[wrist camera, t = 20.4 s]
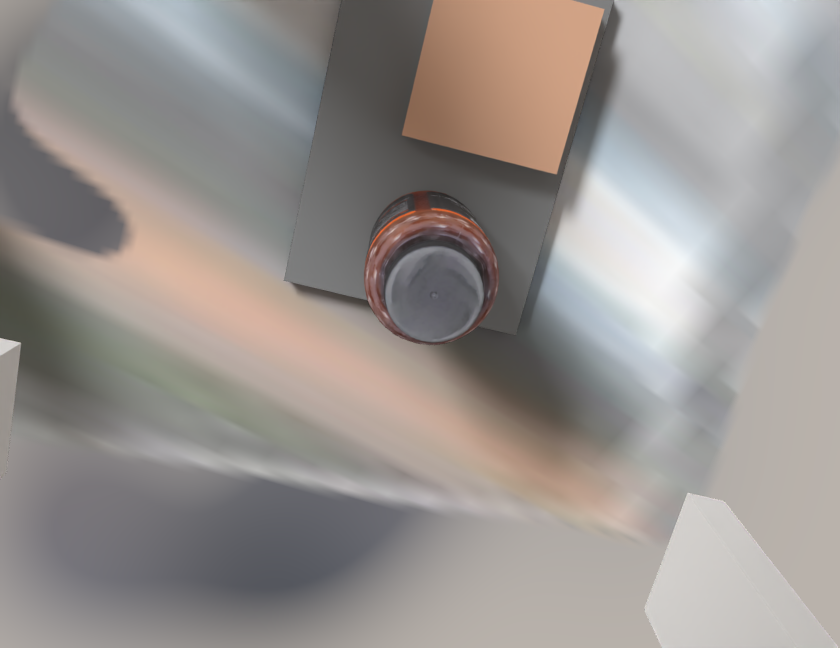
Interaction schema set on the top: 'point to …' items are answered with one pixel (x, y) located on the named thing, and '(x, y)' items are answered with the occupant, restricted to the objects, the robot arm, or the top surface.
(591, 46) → the tile
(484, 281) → the supplement bottle
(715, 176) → the top surface
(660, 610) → the robot arm
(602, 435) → the top surface
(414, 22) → the mat
